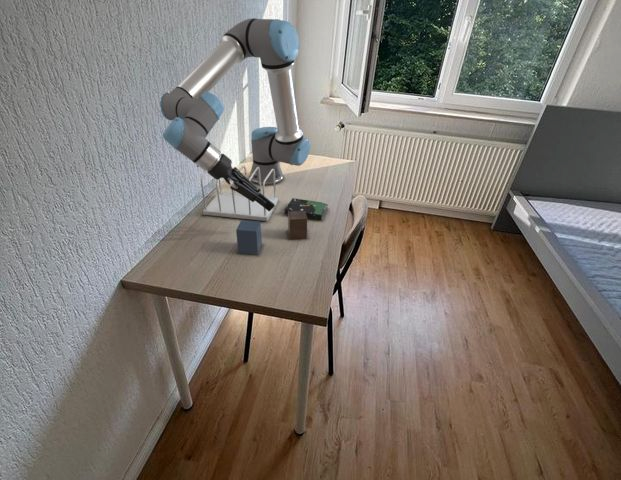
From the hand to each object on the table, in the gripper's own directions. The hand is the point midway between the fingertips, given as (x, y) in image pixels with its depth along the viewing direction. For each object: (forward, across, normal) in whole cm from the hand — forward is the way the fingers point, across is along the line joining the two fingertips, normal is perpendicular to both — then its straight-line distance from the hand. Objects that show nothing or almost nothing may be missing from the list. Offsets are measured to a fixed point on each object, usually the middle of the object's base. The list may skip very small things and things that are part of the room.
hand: (271, 207), depth 116 cm
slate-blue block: (+2, +8, -13) cm, 15 cm away
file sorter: (+1, -21, -15) cm, 26 cm away
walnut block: (+14, +1, -2) cm, 14 cm away
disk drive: (+18, -15, +3) cm, 24 cm away
